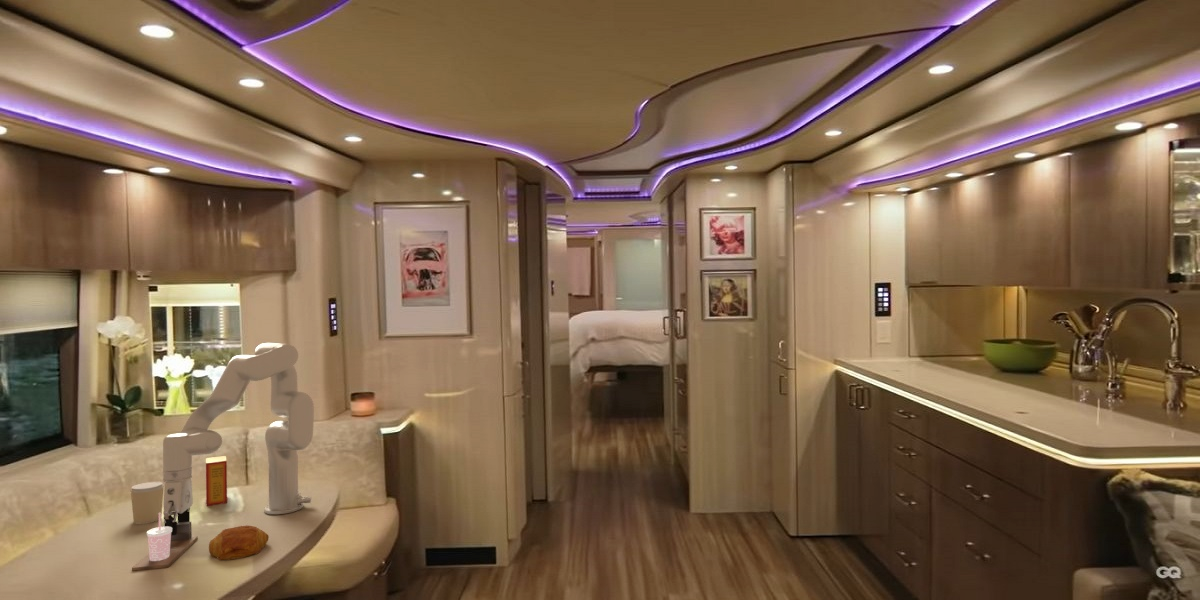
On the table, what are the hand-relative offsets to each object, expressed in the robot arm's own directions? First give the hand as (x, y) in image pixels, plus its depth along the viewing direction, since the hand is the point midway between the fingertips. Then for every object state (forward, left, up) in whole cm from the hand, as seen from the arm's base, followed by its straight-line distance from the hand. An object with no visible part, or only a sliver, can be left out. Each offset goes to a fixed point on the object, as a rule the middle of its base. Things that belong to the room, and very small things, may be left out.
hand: (177, 529), depth 200 cm
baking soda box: (+3, -44, -5) cm, 44 cm away
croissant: (-20, +12, -5) cm, 24 cm away
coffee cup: (+19, -27, -5) cm, 33 cm away
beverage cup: (0, +14, -5) cm, 14 cm away
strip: (0, +9, -4) cm, 10 cm away
